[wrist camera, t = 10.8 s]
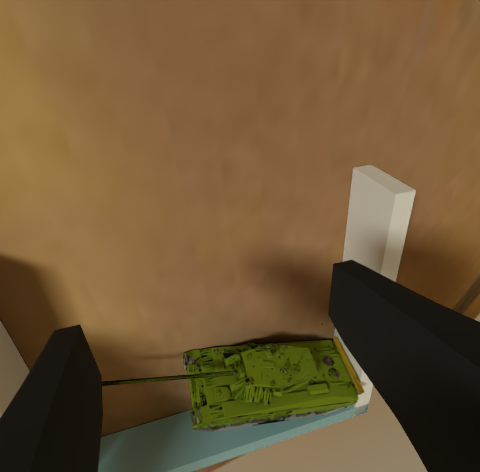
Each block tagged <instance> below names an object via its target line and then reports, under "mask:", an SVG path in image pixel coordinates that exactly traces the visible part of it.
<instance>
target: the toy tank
mask: <svg viewBox="0 0 480 472" xmlns="http://www.w3.org/2000/svg"><path fill="white" fill-rule="evenodd" d="M322 325H323V324H322ZM333 340H334V342H335V343H334V344H333V343H332V341H331V340H318V341H303V342H289V343H270V342H269V343H267V344H265V343H264V344H263V343H262V344H259V345H258V344H257V345H256V344H254V343H253V342H250V343H247V344H244V345H241V346H229V347H215V348H207V349H204V348H203V349H201V350H198V349H196V350H191V351H188V352H185V353H183V363H184V369H185V368H186V369H187V370H186V371H188V375H179V376H167V377H154V378H142V379H129V380H117V381H104V382H102V383H103V384H102V386H106V385H118V384H130V383H142V382H154V381H165V380H164V379H166V378H167V379H166V380H177V379H176V378H178V377H181V378H178V379H189V385H190V393H191V400H192V408H193V409H191V410H193V411H192V412H191V411H190V418H191V421H192V428H193V429H194V430H200V431H211V432H215V431H222V430H228V429H235V428H241V427H248V426H255V425H261V424H268V423H274V422H281V421H287V420H294V419H301V418H308V417H314V416H321V415H326V414H329V413H332V412H335V411H338V410H341V409H344V408H347V407H348V406H350V405H354V404H356V403H357V400H358V395H359V394H362V393H364V392H365V391H364V389H363V387H362V385H361V383H360V381H359V379H358V377H357V375H356V373H355V371H354V370H353V368H352V366H351V364H350V362H349V360H348V358H347V356H346V354H345V352H344V350H343V348H342V346H341V344H340V342H339V340H338V338H337V337H336V338H333ZM184 355H185V358H184ZM340 355H341V356H340ZM186 356H187V357H186ZM341 357H342V358H341ZM342 359H343V361H344V362H343V361H342ZM345 366H346V367H345ZM346 368H347V369H346ZM347 370H348V371H347ZM348 372H349V373H348ZM349 374H350V375H349ZM186 376H187V377H186ZM350 376H351V377H350ZM174 377H176V378H174ZM182 377H183V378H182ZM185 377H186V378H185ZM162 378H164V379H162ZM169 378H171V379H169ZM351 378H352V379H351ZM149 379H152V380H154V379H155V380H154V381H152V380H149ZM157 379H159V380H157ZM137 380H140V381H142V382H140V381H137ZM145 380H147V381H145ZM125 381H129V382H125ZM132 381H134V382H132ZM352 381H353V383H354V384H352ZM114 382H115V383H114ZM116 382H117V383H116ZM120 382H121V383H120ZM104 383H105V384H104ZM351 401H353V402H351ZM191 413H192V415H191Z"/></svg>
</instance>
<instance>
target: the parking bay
mask: <svg viewBox="0 0 480 472" xmlns="http://www.w3.org/2000/svg"><path fill="white" fill-rule="evenodd" d="M415 192H416V190H414V189H413V188H411V187H409V186H407V185H406V184H404V183H402V182H400V181H399V180H397V179H395V178H393V177H392V176H390V175H388V174H386V173H385V172H383V171H381V170H379V169H378V168H376V167H374V166H372V165H366V166H360V167H355V168H353V174H352V183H351V192H350V200H349V209H348V218H347V227H346V235H345V244H344V253H343V262H344V261H348V260H354V261H356V262H358V263H360V264H362V265H364V266H366V267H368V268H370V269H372V270H374V271H375V272H377V273H379V274H381V275H383V276H385V277H387V278H389V279H391V280H393V281H394V282H396V278H397V274H398V269H399V265H400V260H401V256H402V251H403V247H404V242H405V238H406V233H407V228H408V224H409V219H410V215H411V210H412V206H413V201H414V197H415ZM336 337H337V338H338V340H339V342H340V344H341V346H342V348H343V350H344V352H345V354H346V356H347V358H348V360H349V362H350V364H351V366H352V368H353V370H354V371H355V373H356V375H357V377H358V379H359V381H360V383H361V385H362V387H363V389H364V391H365V392H364V393H362V394H359V395H358V400H357V403H356V404H354V405H350V406H348V407H347V408H344V409H341V410H338V411H335V412H332V413H329V414H326V415H321V416H314V417H308V418H301V419H294V420H287V421H281V422H274V423H268V424H261V425H255V426H248V427H241V428H235V429H228V430H222V431H215V432H211V431H200V430H194V429H193V428H192V421H191V418H190V411H191V412H192V411H193V410H188V411H185V412H182V413H179V414H175V415H172V416H169V417H166V418H162V419H159V420H156V421H152V422H149V423H146V424H143V425H139V426H136V427H133V428H129V429H126V430H123V431H120V432H116V433H113V434H110V435H106V436H103V437H101V442H100V454H99V465H98V472H193V471H196V470H199V469H202V468H205V467H208V466H211V465H214V464H217V463H220V462H223V461H225V460H228V459H231V458H234V457H237V456H240V455H243V454H246V453H249V452H252V451H254V450H258V449H261V448H263V447H266V446H269V445H272V444H275V443H278V442H281V441H284V440H287V439H290V438H293V437H296V436H298V435H301V434H304V433H307V432H310V431H313V430H316V429H319V428H322V427H324V426H328V425H331V424H334V423H337V422H339V421H342V420H345V419H348V418H351V417H354V416H357V415H360V414H363V413H366V412H367V409H368V404H369V400H370V396H371V391H372V387H373V384H372V382H371V381H370V379H369V378H368V377H367V375H366V374H365V373H364V371H363V370H362V368H361V367H360V366H359V364H358V363H357V361H356V360H355V358H354V357H353V356H352V354H351V353H350V351H349V350H348V348H347V347H346V346H345V344H344V342H343V341H342V339H341V337H340V335H339V333H338V332H337V330H336V328H335V332H334V338H336ZM334 343H335V342H334V340H333V344H334ZM340 356H341V355H340ZM341 358H342V357H341ZM342 361H343V359H342ZM343 362H344V361H343ZM345 367H346V366H345ZM346 369H347V368H346ZM347 371H348V370H347ZM29 372H30V370H29V369H28V367H27V365H26V364H25V362H24V360H23V358H22V357H21V355H20V353H19V352H18V350H17V348H16V346H15V345H14V343H13V341H12V340H11V338H10V336H9V334H8V333H7V331H6V329H5V328H4V326H3V324H2V322H1V321H0V418H1V416H2V415H3V413H4V412H5V410H6V409H7V407H8V405H9V404H10V402H11V401H12V399H13V398H14V396H15V394H16V393H17V391H18V390H19V388H20V387H21V385H22V383H23V382H24V380H25V379H26V377H27V375H28V374H29ZM348 373H349V372H348ZM349 375H350V374H349ZM350 377H351V376H350ZM351 379H352V378H351ZM352 384H354V383H353V381H352ZM351 402H353V401H351ZM191 415H192V413H191Z"/></svg>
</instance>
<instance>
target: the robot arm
mask: <svg viewBox="0 0 480 472" xmlns="http://www.w3.org/2000/svg"><path fill="white" fill-rule="evenodd" d="M329 316H330V318H331V320H332V322H333V324H334V326H335V328H336V330H337V332H338V333H339V335H340V337H341V339H342V341H343V342H344V344H345V346H346V347H347V348H348V350H349V351H350V353H351V354H352V356H353V357H354V358H355V360H356V361H357V363H358V364H359V366H360V367H361V368H362V370H363V371H364V373H365V374H366V375H367V377H368V378H369V379H370V381H371V382H372V384H373V385H374V386H375V388H376V389H377V391H378V392H379V393H380V395H381V396H382V398H383V399H384V400H385V402H386V403H387V405H388V406H389V407H390V409H391V410H392V412H393V413H394V415H395V416H396V418H397V419H398V421H399V423H400V424H401V426H402V428H403V429H404V431H405V433H406V434H407V436H408V438H409V440H410V441H411V443H412V445H413V446H414V448H415V450H416V452H417V453H418V455H419V457H420V458H421V460H422V462H423V464H424V466H425V467H426V469H427V471H428V472H480V322H478V321H476V320H474V319H471V318H469V317H466V316H464V315H462V314H460V313H458V312H455V311H453V310H451V309H449V308H447V307H444V306H442V305H440V304H438V303H436V302H434V301H432V300H430V299H428V298H426V297H424V296H422V295H420V294H418V293H416V292H414V291H412V290H410V289H408V288H406V287H404V286H402V285H400V284H398V283H396V282H394V281H393V280H391V279H389V278H387V277H385V276H383V275H381V274H379V273H377V272H375V271H374V270H372V269H370V268H368V267H366V266H364V265H362V264H360V263H358V262H356V261H354V260H348V261H344V262H340V263H335V264H333V273H332V283H331V293H330V303H329ZM102 416H103V406H102V379H101V374H100V371H99V369H98V366H97V364H96V362H95V359H94V357H93V354H92V352H91V350H90V347H89V345H88V343H87V340H86V338H85V335H84V333H83V331H82V328H81V326H80V325H76V326H72V327H68V328H63V329H59V330H55V331H54V332H53V334H52V335H51V337H50V338H49V340H48V342H47V343H46V345H45V347H44V348H43V350H42V352H41V354H40V355H39V357H38V359H37V360H36V362H35V364H34V365H33V367H32V369H31V370H30V372H29V374H28V375H27V377H26V379H25V380H24V382H23V383H22V385H21V387H20V388H19V390H18V391H17V393H16V394H15V396H14V398H13V399H12V401H11V402H10V404H9V405H8V407H7V409H6V410H5V412H4V413H3V415H2V416H1V418H0V472H98V465H99V454H100V442H101V430H102Z"/></svg>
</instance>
